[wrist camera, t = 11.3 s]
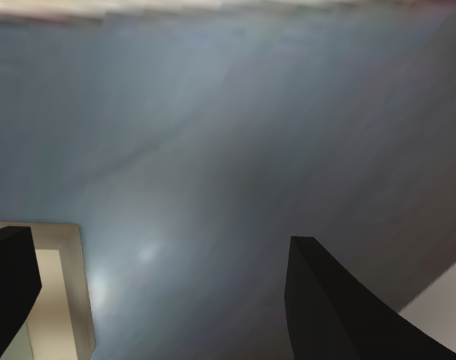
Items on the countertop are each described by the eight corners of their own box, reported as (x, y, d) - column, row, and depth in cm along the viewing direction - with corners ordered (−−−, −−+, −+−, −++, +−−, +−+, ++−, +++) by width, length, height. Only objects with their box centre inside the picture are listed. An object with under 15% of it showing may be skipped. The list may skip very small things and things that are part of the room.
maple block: (98, 339, 25) (81, 379, 22) (-37, 335, 25) (-72, 374, 22) (81, 220, 21) (58, 250, 19) (-76, 215, 21) (-123, 244, 19)
